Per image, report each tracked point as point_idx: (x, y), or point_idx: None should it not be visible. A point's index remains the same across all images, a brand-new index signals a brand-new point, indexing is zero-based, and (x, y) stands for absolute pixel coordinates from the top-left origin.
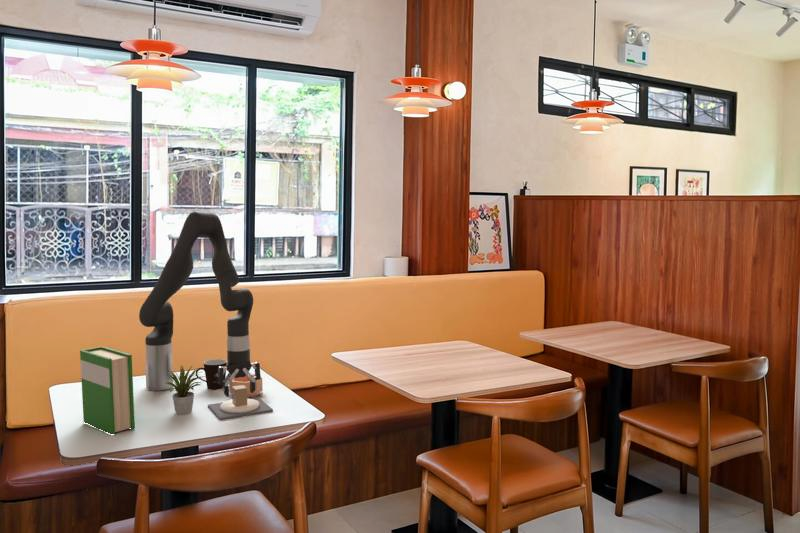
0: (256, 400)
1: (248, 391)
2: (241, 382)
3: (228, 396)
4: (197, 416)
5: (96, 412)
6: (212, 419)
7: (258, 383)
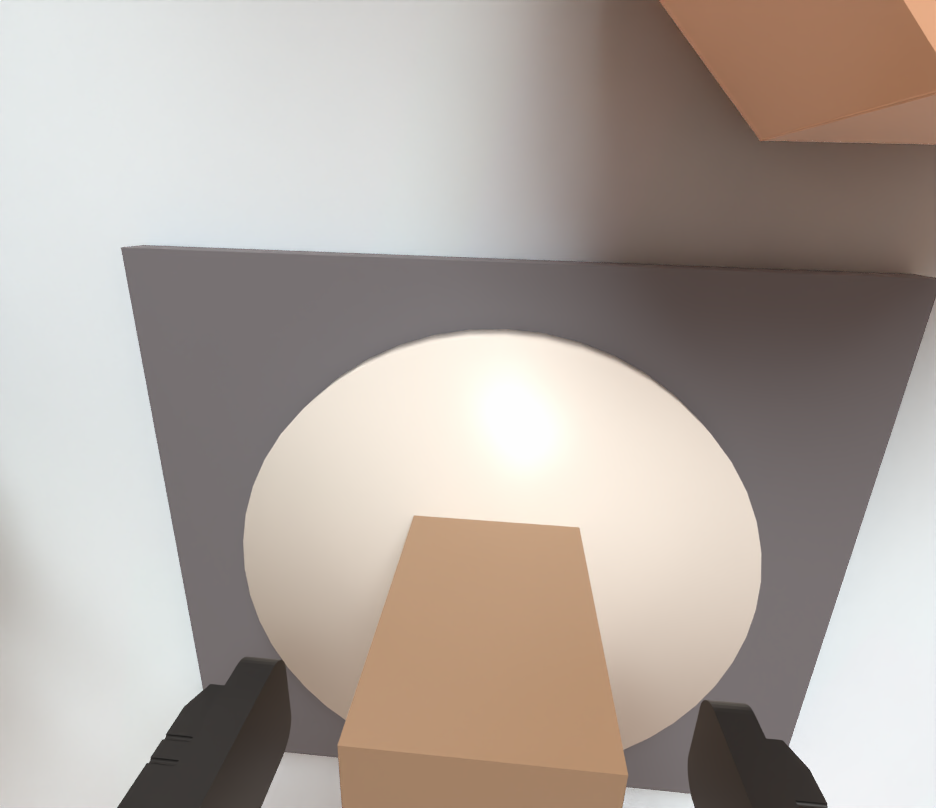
0: (754, 567)
1: (894, 131)
2: (906, 6)
3: (280, 729)
4: (23, 515)
5: None
6: (165, 662)
7: None
